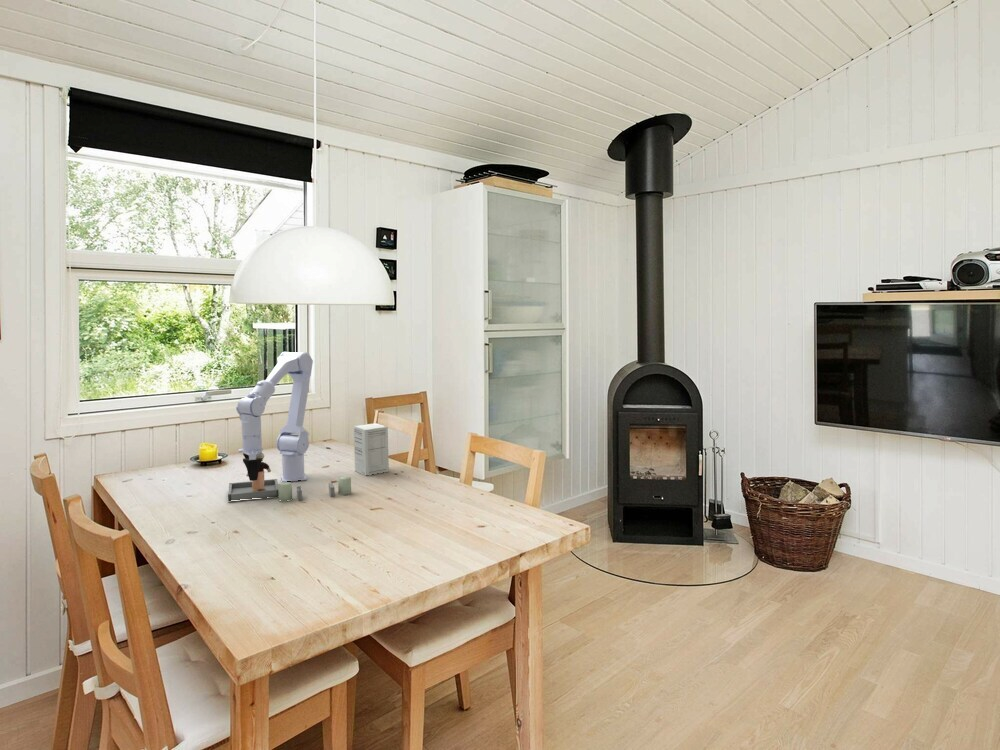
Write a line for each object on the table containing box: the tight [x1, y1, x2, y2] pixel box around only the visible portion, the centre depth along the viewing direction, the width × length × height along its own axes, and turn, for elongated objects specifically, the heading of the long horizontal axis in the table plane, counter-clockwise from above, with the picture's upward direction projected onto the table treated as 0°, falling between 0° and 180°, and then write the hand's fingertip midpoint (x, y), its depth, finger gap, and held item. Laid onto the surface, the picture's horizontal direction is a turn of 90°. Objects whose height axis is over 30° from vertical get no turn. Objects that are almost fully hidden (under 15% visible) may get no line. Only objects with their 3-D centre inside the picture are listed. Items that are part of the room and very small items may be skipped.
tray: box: [227, 478, 279, 502], centre depth 196 cm, size 14×15×2 cm
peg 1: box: [337, 476, 352, 496], centre depth 197 cm, size 4×4×5 cm
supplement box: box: [353, 422, 390, 476], centre depth 224 cm, size 10×9×17 cm
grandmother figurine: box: [246, 451, 272, 492], centre depth 197 cm, size 8×4×13 cm, turn 145°
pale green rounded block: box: [278, 481, 293, 502], centre depth 190 cm, size 4×4×5 cm
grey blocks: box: [296, 482, 336, 501], centre depth 194 cm, size 5×11×3 cm, turn 112°
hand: (253, 477), depth 196 cm, fingers open, 7 cm apart
